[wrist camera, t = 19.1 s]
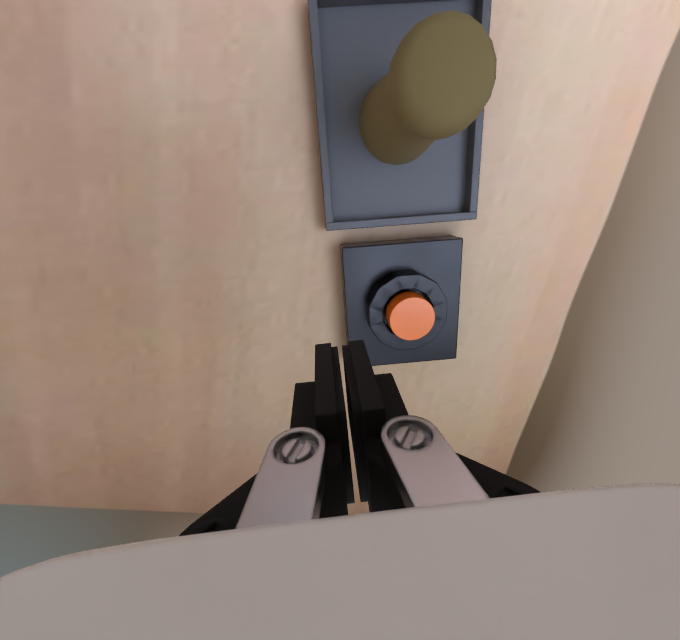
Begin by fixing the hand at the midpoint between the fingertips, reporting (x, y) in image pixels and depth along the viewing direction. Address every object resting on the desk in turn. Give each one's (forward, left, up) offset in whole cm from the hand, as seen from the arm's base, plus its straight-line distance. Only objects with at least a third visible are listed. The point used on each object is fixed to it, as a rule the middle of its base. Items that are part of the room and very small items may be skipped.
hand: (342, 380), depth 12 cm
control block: (+3, +6, -19) cm, 21 cm away
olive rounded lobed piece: (-11, +6, -19) cm, 23 cm away
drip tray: (-11, +6, -19) cm, 23 cm away
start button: (+3, +6, -16) cm, 17 cm away
